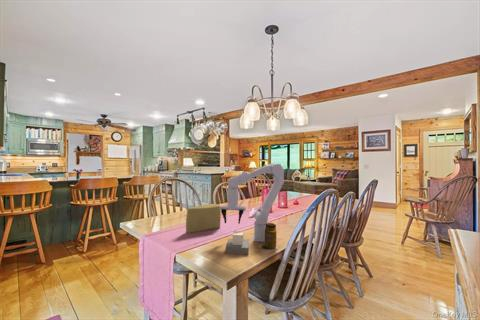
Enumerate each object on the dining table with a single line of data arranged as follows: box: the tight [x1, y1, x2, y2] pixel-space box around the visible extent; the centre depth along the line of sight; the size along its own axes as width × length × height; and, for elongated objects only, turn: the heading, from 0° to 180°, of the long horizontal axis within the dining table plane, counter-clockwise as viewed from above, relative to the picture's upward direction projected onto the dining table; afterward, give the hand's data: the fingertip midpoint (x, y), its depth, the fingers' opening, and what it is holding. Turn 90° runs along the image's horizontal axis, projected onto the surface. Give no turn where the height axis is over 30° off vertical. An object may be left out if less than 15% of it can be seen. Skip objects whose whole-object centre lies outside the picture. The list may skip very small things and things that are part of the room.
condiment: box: [258, 222, 280, 253], centre depth 114 cm, size 7×8×12 cm
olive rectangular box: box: [185, 203, 222, 234], centre depth 141 cm, size 22×10×15 cm, turn 130°
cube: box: [232, 230, 244, 245], centre depth 112 cm, size 5×5×5 cm
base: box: [225, 238, 250, 255], centre depth 112 cm, size 11×11×3 cm
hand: (232, 222), depth 124 cm, fingers open, 7 cm apart
